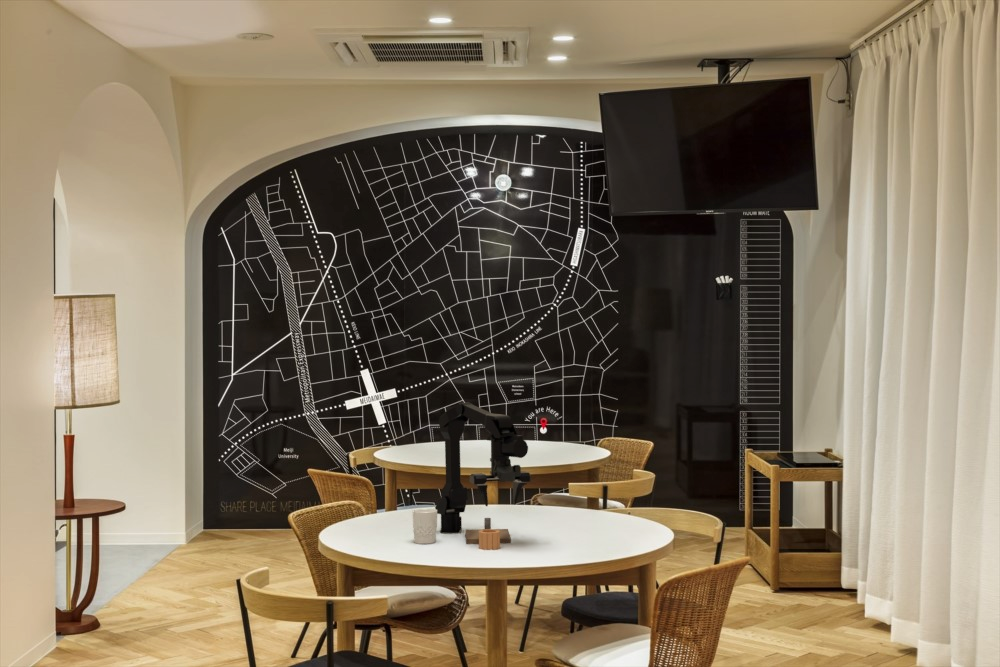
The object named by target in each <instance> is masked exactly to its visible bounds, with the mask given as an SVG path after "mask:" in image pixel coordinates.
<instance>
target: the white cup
mask: <svg viewBox="0 0 1000 667" xmlns="http://www.w3.org/2000/svg"><path fill="white" fill-rule="evenodd" d="M412 528H413V541H414V543H415V544H419V545H432V544H434V543H436V541H437V528H438V514H437V510H436V509H435V508H416V509H412Z"/></svg>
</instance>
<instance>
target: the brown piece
mask: <svg viewBox="0 0 1000 667" xmlns="http://www.w3.org/2000/svg"><path fill="white" fill-rule="evenodd" d="M491 520H492V518H491V517H485V518H484V520H483V521H484V522H483V523H484V524H483V525H484V527H483V529H482V528H481V529H480V528H479V529H476V528H475V529H473V528H472V529H465V544H466V545H471V544H472V545H473V544H475V545H476V544H478V545H479V531H480V530H484V529H492V528H491V526H492V522H491ZM494 529H495V530H499V531H500V544H512V538H511V535H510V531H509V529H508V528H494Z"/></svg>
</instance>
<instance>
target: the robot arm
mask: <svg viewBox="0 0 1000 667" xmlns="http://www.w3.org/2000/svg"><path fill="white" fill-rule="evenodd" d="M470 420H472V421H474V422H476V423H478V424H480V425H482V426H484V429H485V430H486V431H487V432H488V433H489V436H488V437H486V441H489V442H490V458H489V462H490V470H491V471H490V473H489V475H486V474H485V473H481V472H480V473H471V474H470V475H469V483H470V484H472V485H473V486H475V487H477V489H478V491H479V492H480V493H479V494H481V497H482V500H483V503H484V505H485V507H489V498H488V484H487V482H501V483H505V482H512V504H513V505H514V506H515V505H516V504H517V501H518V499H519V495H520V493H521V490H522V488H523V487H524V486H525V485H527V484H528V483H530V482H532V474H531V473H530V472H528V471H525V470H523V471H522V470H521V468H522V467H521V465H520V464H513V465H512V464H511V463H512V462H511V459H510V457H511V458H519V459H522V458H524V457H525V456H526V455H528V452H529V446H528V443H527V441H526V440H524V436H523V435H522V434H521V435H519V432H518V431H517V429H516V427H515V425H514V422H513V420H512V418H511V417H510V415H507V414H502V413H501V414H500V413H492V412H490V411H488V410H485V409H483V408H481V407H478V406H476V405H475V404H473V403H471V402H459V403H457V404H456V405H455V406H454V407H452V408H450V409H448V410H447V411H445V412H444V413H442V414H441V416H440V417H439V418H438V426H439V432H440V433H441V434H440V435H442V437H443V438H444V453H445V456H444V457H445V458H444V460H445V483H444V485H443V487H442V489H441V492H440V494H441V495H440V499H439V501H438V502H437V504H436V506H435V507H434V509H436V510H437V515H440V533H441V534H448V533H449V534H452V533H454V534H455V533H456V534H457V533H459V534H460V533H461V531H462V528H463V527H462V516H460V514H461V513H465V511H466V506H467V502H468V500H469V497H468V488H467V487H464V485H463V483H462V476H461V474H462V473H461V442H460V441H461V437H462V435H463V434H464V432H465V428H466V427H465V425H466V423H467V422H469V421H470Z"/></svg>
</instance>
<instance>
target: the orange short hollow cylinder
mask: <svg viewBox="0 0 1000 667" xmlns="http://www.w3.org/2000/svg"><path fill="white" fill-rule="evenodd" d="M483 529H484V530H480V531H479V544H478V548H479V549H480V550H486V551H487V550H490V549H492V550H499V549H500V548H501V543H500V531H499V530H495V529H496V528H491V529H485V528H483Z"/></svg>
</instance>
